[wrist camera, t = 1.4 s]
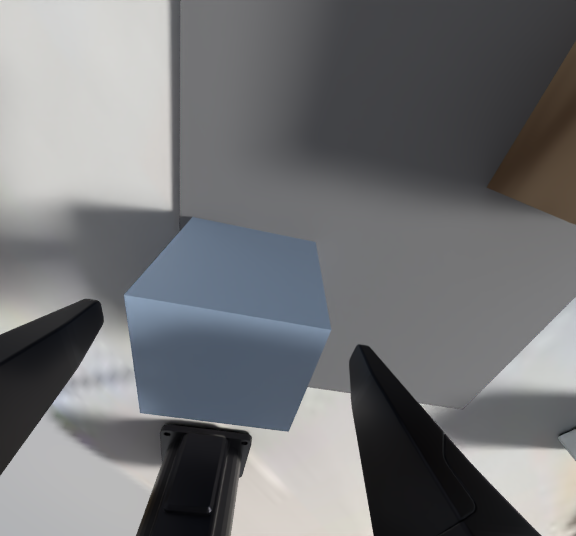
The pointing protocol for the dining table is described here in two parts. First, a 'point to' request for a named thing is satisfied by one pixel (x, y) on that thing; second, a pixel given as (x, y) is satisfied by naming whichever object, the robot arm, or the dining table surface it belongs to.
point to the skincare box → (569, 442)
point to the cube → (228, 326)
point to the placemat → (385, 169)
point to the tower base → (546, 151)
